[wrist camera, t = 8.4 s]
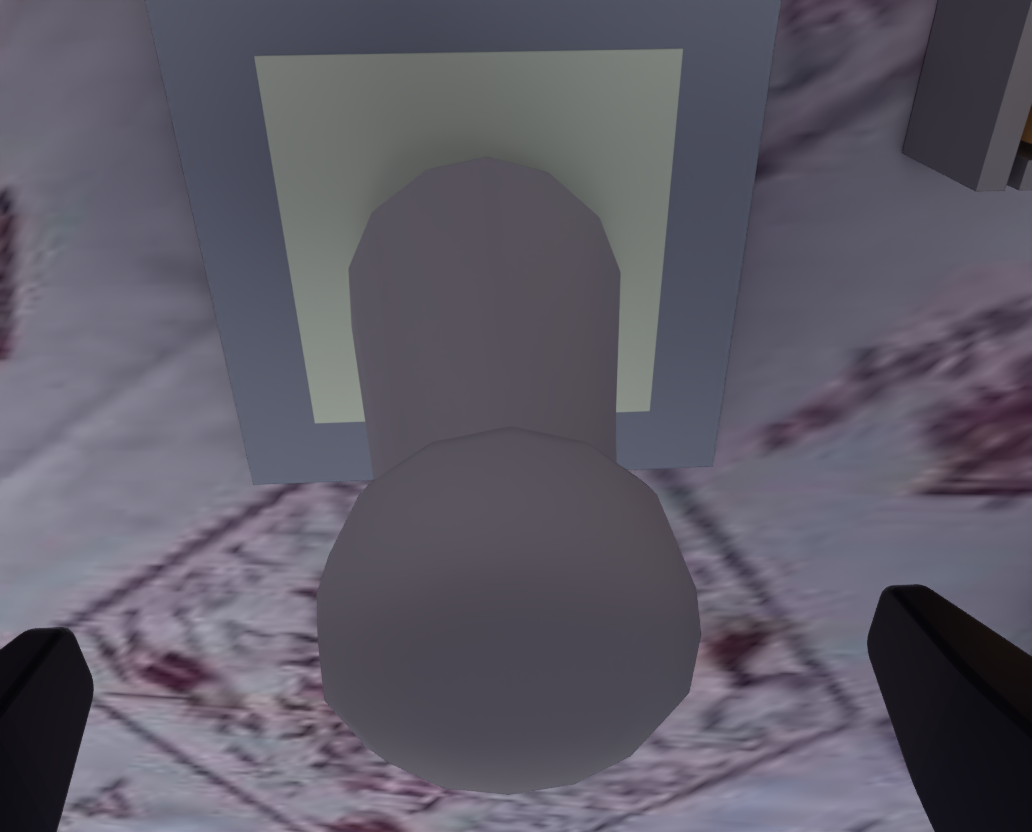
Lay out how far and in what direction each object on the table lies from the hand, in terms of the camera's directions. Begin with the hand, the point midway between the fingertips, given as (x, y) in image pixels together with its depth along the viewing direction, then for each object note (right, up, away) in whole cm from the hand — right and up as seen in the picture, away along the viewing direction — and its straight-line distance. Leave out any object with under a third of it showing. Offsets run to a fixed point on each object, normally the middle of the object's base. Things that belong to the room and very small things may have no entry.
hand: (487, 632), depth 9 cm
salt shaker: (0, +6, +10) cm, 12 cm away
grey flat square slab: (-1, +6, +11) cm, 13 cm away
